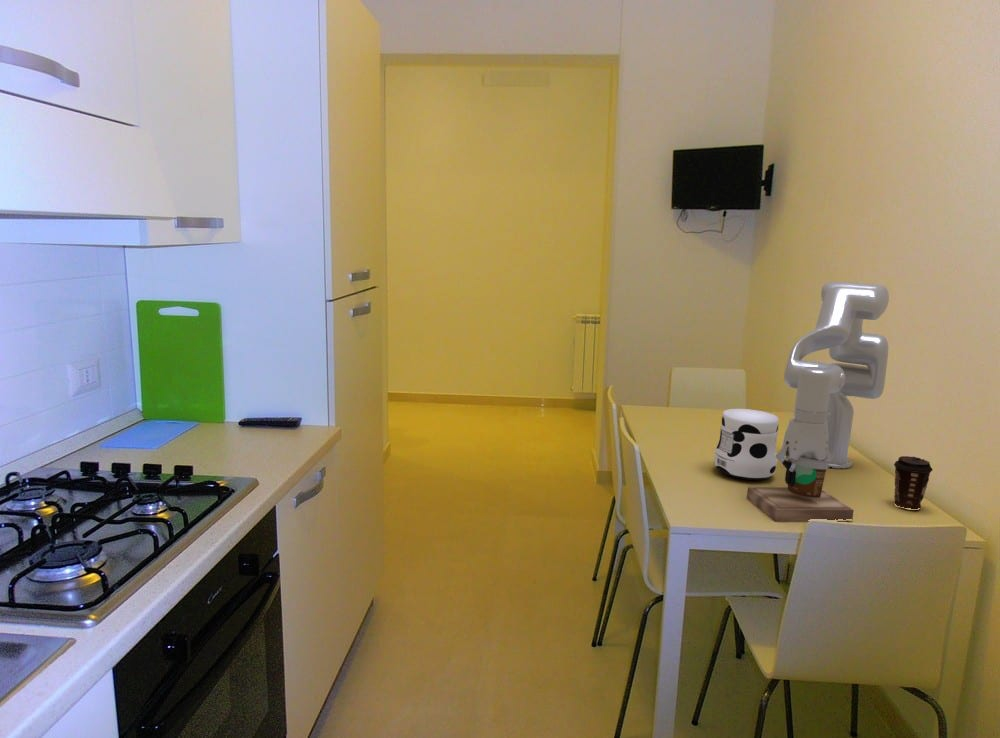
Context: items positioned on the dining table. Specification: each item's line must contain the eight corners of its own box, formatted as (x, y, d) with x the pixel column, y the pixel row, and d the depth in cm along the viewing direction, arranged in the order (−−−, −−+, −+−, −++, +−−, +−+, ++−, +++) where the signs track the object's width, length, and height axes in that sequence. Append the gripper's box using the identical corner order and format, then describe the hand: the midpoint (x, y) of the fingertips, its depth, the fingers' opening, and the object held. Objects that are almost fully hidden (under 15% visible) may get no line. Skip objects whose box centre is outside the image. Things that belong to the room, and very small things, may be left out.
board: (746, 497, 193) (747, 486, 193) (817, 498, 196) (818, 487, 195) (775, 521, 178) (777, 509, 177) (852, 521, 180) (853, 509, 180)
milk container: (779, 473, 216) (787, 414, 213) (768, 489, 201) (776, 426, 198) (721, 461, 225) (727, 404, 221) (706, 476, 210) (712, 415, 207)
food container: (772, 484, 191) (776, 447, 189) (792, 482, 193) (796, 446, 191) (803, 501, 180) (808, 462, 178) (824, 499, 181) (829, 461, 179)
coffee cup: (914, 501, 197) (921, 455, 195) (933, 513, 189) (941, 465, 186) (882, 500, 197) (889, 454, 194) (900, 512, 189) (907, 464, 186)
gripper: (833, 412, 187) (824, 480, 191) (770, 411, 185) (762, 479, 188) (850, 420, 180) (840, 490, 183) (785, 419, 178) (776, 490, 181)
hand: (800, 484), depth 186 cm, fingers closed on food container, 5 cm apart
